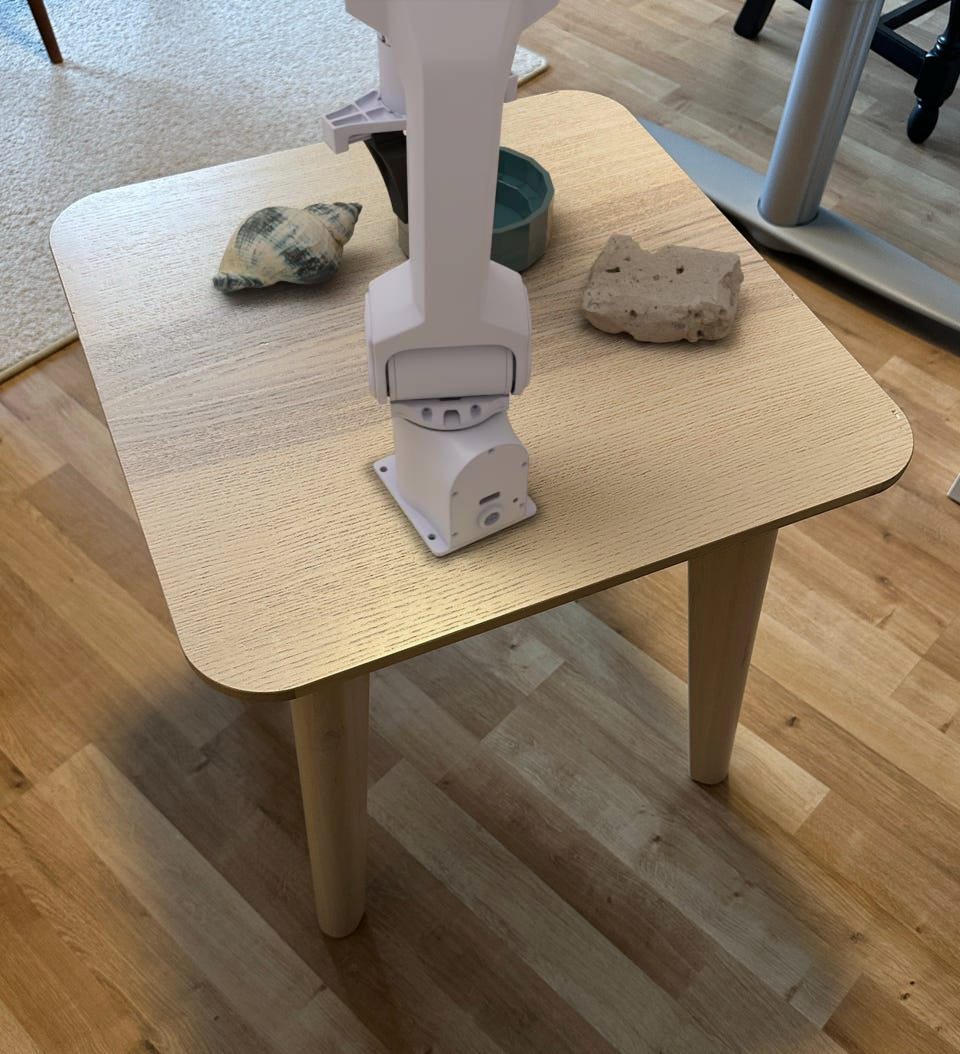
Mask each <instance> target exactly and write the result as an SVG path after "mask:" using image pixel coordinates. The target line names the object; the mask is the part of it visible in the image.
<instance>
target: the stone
mask: <svg viewBox="0 0 960 1054" xmlns="http://www.w3.org/2000/svg"><path fill="white" fill-rule="evenodd" d="M741 265H742V264H741V256H740V255H738V253H735V252H729V251H726V252H725V251H720V250H713V249H706V248H700V247H695V246H686V245H683V246H682V245H675V244H666V245H664V246H663V247H661V248H659V249H658V250H657V251H656V252H653V253H651V252H650V251H649V250H648V249H643V248H641V246H640V242H638V241H634V239H633V238H632V235H627V234H621V233H613V234H610V236H609V238H608V240H607V241H606V243H605V245H604V247H603V249H602V250H601V251H600V252H599V253H598V255H597V256H596V258H595V260H594V262H593V264H592V266H591V267H590V270H589V275H588V285H587V288H586V289H585V290H584V291H583V295H582V298H581V299H580V302H579V306H578V310H579V311H580V312H581V314H582V316H583V317H584V318H585V319H587V321H589V322H590V324H591V325H592V326H594V327H595V328H596V329H598V330H600V331H602V332H605V333H609V334H619V333H622V332H623V333H627V334H629V335H630V336H632V338H633V339H634V340H636V341H641V342H651V343H668V342H673V343H675V342H677V341H680V340H682V339H683V340H684V339H686V340H687V341H688V342H690V343H697V341H698V340H707V341H712V340H714V341H715V340H721V339H724V338H725V337H727V336H728V335H729V334H730V333H731V332H732V326H733V324H734V320H735V317H736V315H737V314H736V313H737V310H738V309H737V308H738V302H739V297H740V292H741V288H742V287H741V284H742V283H743V282H744V280H745V275H744V273H743V269H742V267H741Z"/></svg>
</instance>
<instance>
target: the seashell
mask: <svg viewBox="0 0 960 1054" xmlns="http://www.w3.org/2000/svg"><path fill="white" fill-rule="evenodd" d="M362 210H363V205H362V204H361V203H360V202H357V201H356V202H348V203H346V202H341V201H335V202H333V203H321V202H318V203H314V204H313V203H312V204H309V205H307V206H306V207H304V208H302V209H300V208H296V207H290V206H280V205H275V206H273V205H272V206H267V207H264V208H260V209H257V210H255V211H253V212H251V213H249V214H248V215H247V216H245V218H244V219H243V220H242V221H241V222H240V223H239V224H238V226H237V227H236V228H235V230H234V232H233V234H232V235H231V237H230V239H229V240H228V243H227V246H226V247H225V248H224V249H225V250H224V253H223V255H222V258H221V261H220V263H219V267H218V273H217V274H216V275H215V276H213V277H212V279H211V281H212V283H213V287H214V288H215V289H216V290H218V291H219V292H221V293H228V294H229V293H231V292H234V291H238V290H242V289H244V288H264V287H268V286H269V287H270V286H272V285H275V284H276V283H279V282H289V283H293V284H297V285H298V284H299V285H318V284H321V283H323V282H326V281H328V280H330V279H331V278H333V276H334V275H335V274H336V273H337V272H338V271H339V269H340V266H341V265H342V260H343V255H344V246H345V245H346V244H348V243H349V242H350V240H351V239H352V237H353V235H354V232H355V225H356V224H357V223H358V221H359V216H360V214H361V212H362Z"/></svg>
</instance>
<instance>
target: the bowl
mask: <svg viewBox="0 0 960 1054" xmlns="http://www.w3.org/2000/svg"><path fill="white" fill-rule="evenodd" d="M555 192H556V190H555V186H554V184H553V180H552V177H551V174H550V172H549V171H548V170H547V169H546V168H544V167H543V166H542V165H541V164H540V163H539V162H538V161H537V160H535V159H534V157H532V156H530V155H527V154H524V153H522V152H520V151H518V150H515V149H513V148H511V147H508V146H503V145H500V147H499V159H498V171H497V182H496V194H495V206H494V218H493V229H492V241H491V253H490V260H492V261H494V262H496V263H498V264H500V265H503V266H505V267H507V268H509V269H511V270H513V271H515V272H517V273H519V272H521V271H524V270H526V269H528V268H529V267H530V266H532V265H533V264H534V263H535V262H537V260H539V259H540V258H541V257H542V256H543V255H545V254H546V251H547V249H548V245H549V244H550V243H549V242H550V241H551V237H552V229H553V219H554V218H553V217H554V207H555V205H554V204H555ZM394 215H395V229H396V237H397V243H398V247H399V248H400V249H401V251H402V252H403V253H404V254H405V255H406V256H407V258H410V257H409V223H408V224H404V223H403V222H402V221H401V220H400V219H399V218H398V216H397V215H396V214H395V213H394Z"/></svg>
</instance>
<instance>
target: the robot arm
mask: <svg viewBox="0 0 960 1054" xmlns="http://www.w3.org/2000/svg"><path fill="white" fill-rule="evenodd" d="M559 4H560V0H344V9H345V12H346V13H347V14H348V15H350V16H351V17H353V18H354V19H357V20H358V21H360V22H361V23H363V24H364V25H366V26H367V27H369V28H371V29H372V30H373V31H375V32H376V39H377V59H378V75H379V76H378V77H379V86H377V87H375V88H373V89H372V90H370V91H368V92H366V93H364V94H363V95H362V96H359V97H358V98H356V99H354V100H353V101H350V102H349V103H347V104H346V105H343V106H342V107H339V108H338V109H335V110H333V111H329V112H328V113H324V114H321V116H320V120H321V121H320V122H321V129H322V139H323V142H324V143H325V144H326V146H328V148H329V149H330V150H331V151H332V152H333V153H334V154H335V155H339V154H342V153H345V152H348V151H349V149H350V146H349V145H353V144H356V143H359V142H363V143H364V145H365V148H367V150H368V152H369V154H370V155H371V157H372V159H373V161H374V162H375V165H376V166H377V169H378V171H379V173H380V175H381V177H382V180H383V183H384V185H385V188H386V191H387V194H388V196H389V201H390V205H391V209H392V212H393V214H394V215H395V214H396V215H397V216H398V218H399V219H400V220H401V221H402V222H403V223H404V224H408V223H409V257H410V258H409V257H408V258H409V259H407V260H406V261H404V262H402V263H401V264H399V265H397V266H395V267H392V268H391V269H389V270H387V271H386V272H384V273H382V274H380V275H378V276H377V277H375V278H374V279H372V280H371V281H370V282H369V283H368V291H367V292H366V293H365V294H364V307H365V308H364V309H363V310H364V311H363V318H364V334H365V335H364V336H365V349H366V362H367V376H368V385H369V394H370V396H371V397H372V398H374V399H375V400H376V401H377V403H378V404H388V397H389V405H390V416H391V418H392V433H393V434H392V435H393V450H394V453H393V454H390V455H388V456H385V457H383V458H380V459H378V460H376V461H375V462H374V463H373V471H374V472H375V474H376V475H377V476H378V478H379V480H380V481H381V482H382V484H383V485H384V487H386V490H387V491H388V492H389V494H390V496H392V498H393V500H394V501H395V502H396V503H397V505H398V506H399V508H400V509H401V511H402V513H404V515H405V516H406V518H407V519H408V520H409V522H410V523H411V525H412V526H413V528H414V529H415V531H416V532H417V533H418V534H419V536H420V537H421V539H422V541H423V542H424V543H425V545H426V546H427V548H428V549H429V551H430V552H431V553H432V554H433V555H434V556H436V557H444V556H445V555H448V554H450V553H452V552H455V551H457V550H459V549H462V548H464V547H465V546H468V545H470V544H472V543H475V542H477V541H479V540H481V539H483V538H486V537H489V536H490V535H493V534H494V533H497V532H499V531H501V530H504V529H506V528H508V527H510V526H513V525H515V524H517V523H520V522H521V521H524V520H526V519H529V518H530V517H533V516H534V515H536V514H537V505H536V504H535V502H534V501H533V500H532V499H531V497H530V496H529V495H528V490H529V489H528V488H529V477H530V476H529V475H530V455H529V451H528V449H527V448H526V446H525V445H524V443H523V442H522V440H521V439H520V437H518V435H517V433H516V432H515V430H514V428H513V426H512V424H511V421H510V419H509V416H508V412H507V411H509V410H510V395H511V396H521V395H522V394H523V393H524V390H526V388H527V387H529V385H530V382H531V379H532V378H531V377H532V364H533V363H532V362H533V353H532V351H533V349H532V333H533V327H532V317H531V307H530V300H529V299H530V298H529V293H528V288H527V286H526V285H525V284H524V283H523V278H522V275H521V274H520V273H519V272H515V271H513V270H511V269H509V268H507V267H505V266H503V265H500V264H498V263H496V262H494V261H492V260H490V253H491V241H492V229H493V218H494V206H495V194H496V182H497V171H498V159H499V147H500V146H501V133H502V125H503V124H502V123H503V110H504V104H509V103H511V102H514V101H517V100H518V82H519V81H518V80H519V79H518V78H519V75H518V74H517V73H516V72H515V71H514V70H512V68H513V63H514V60H515V56H516V53H517V52H516V51H517V47H518V44H519V40H520V36H521V34H522V33H523V32H524V31H525V30H527V29H528V28H529V27H531V26H533V24H535V23H536V22H538V21H539V20H541V19H542V18H543V17H545V15H548V13H550V12H551V11H552V10H554V9H555V8H557V7H558V6H559ZM404 132H406V133H404ZM396 215H395V216H396Z"/></svg>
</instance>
